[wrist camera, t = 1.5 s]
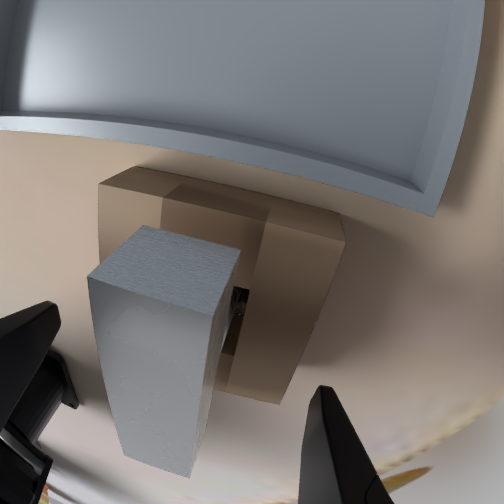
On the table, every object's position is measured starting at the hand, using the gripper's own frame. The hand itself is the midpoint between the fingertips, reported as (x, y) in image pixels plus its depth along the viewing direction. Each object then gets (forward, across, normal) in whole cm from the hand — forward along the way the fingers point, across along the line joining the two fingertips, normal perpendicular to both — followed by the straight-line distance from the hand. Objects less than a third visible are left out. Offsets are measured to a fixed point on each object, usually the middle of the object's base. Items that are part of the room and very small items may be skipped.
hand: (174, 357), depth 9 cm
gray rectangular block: (+5, 0, 0) cm, 5 cm away
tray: (+5, +3, -15) cm, 16 cm away
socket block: (+5, 0, 0) cm, 5 cm away
